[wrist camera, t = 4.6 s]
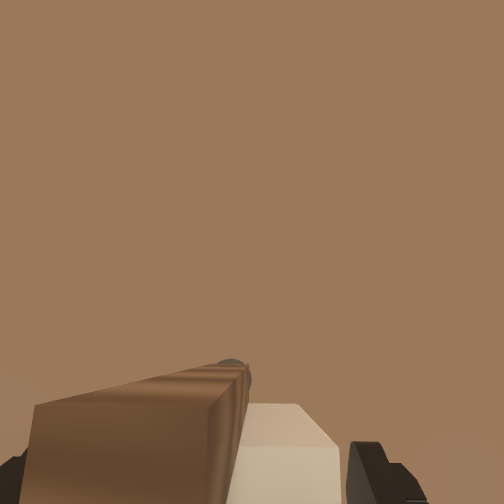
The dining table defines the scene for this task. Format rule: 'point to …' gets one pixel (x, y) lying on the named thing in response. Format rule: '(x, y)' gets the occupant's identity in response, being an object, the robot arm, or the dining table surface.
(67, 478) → the lever handle
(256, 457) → the post
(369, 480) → the robot arm
